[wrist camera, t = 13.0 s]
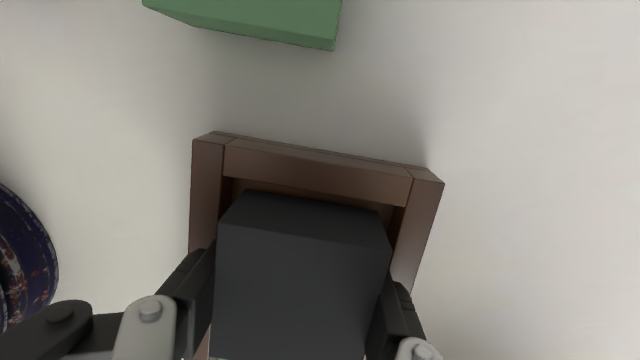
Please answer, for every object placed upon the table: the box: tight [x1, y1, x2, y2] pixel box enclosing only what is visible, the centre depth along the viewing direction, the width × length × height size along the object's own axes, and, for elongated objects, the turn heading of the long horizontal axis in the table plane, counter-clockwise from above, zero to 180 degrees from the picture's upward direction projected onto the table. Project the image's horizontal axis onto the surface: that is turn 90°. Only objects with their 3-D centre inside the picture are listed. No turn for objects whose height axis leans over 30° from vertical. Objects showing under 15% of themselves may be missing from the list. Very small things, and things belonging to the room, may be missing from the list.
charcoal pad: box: [208, 189, 393, 360], centre depth 12 cm, size 6×6×3 cm
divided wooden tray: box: [184, 131, 445, 360], centre depth 15 cm, size 9×18×2 cm, turn 170°
